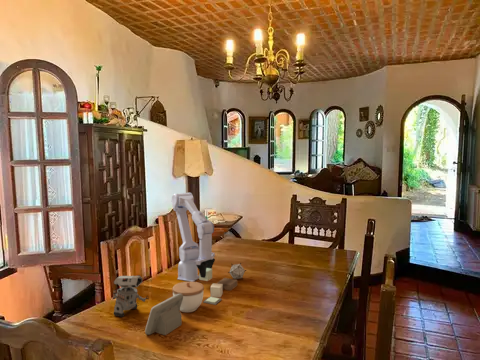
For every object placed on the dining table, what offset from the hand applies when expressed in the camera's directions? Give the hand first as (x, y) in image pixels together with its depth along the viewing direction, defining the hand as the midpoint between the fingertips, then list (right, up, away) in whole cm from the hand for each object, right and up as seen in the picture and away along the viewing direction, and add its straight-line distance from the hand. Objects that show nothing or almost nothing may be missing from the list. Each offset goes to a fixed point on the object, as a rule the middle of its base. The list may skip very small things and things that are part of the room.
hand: (205, 275), depth 166 cm
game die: (+15, -5, +11) cm, 19 cm away
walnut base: (+10, -6, +1) cm, 12 cm away
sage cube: (0, -2, 0) cm, 2 cm away
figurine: (-27, -8, -27) cm, 39 cm away
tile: (+5, -7, -15) cm, 17 cm away
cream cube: (+6, -7, -9) cm, 12 cm away
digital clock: (-11, -9, -38) cm, 41 cm away
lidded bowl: (-5, -8, -23) cm, 24 cm away
